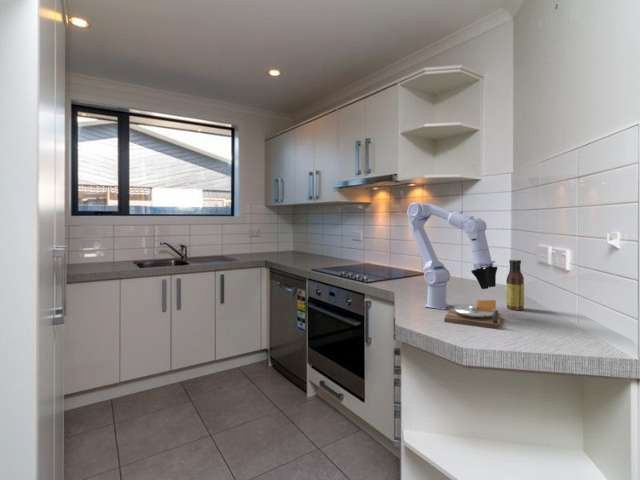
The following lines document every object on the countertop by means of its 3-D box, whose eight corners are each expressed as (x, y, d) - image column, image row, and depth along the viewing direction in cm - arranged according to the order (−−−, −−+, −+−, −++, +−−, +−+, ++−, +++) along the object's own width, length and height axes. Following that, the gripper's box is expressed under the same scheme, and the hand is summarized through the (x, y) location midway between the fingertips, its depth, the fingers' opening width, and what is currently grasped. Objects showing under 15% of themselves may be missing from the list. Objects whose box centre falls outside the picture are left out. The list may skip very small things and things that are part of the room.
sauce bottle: (517, 307, 144) (519, 258, 143) (527, 310, 138) (529, 260, 137) (502, 307, 144) (503, 258, 143) (511, 311, 137) (512, 260, 136)
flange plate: (456, 306, 134) (456, 295, 134) (495, 310, 127) (496, 299, 127) (451, 314, 122) (451, 302, 122) (494, 319, 116) (494, 306, 116)
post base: (451, 311, 136) (451, 297, 136) (500, 317, 128) (501, 302, 128) (444, 321, 122) (444, 306, 122) (499, 329, 114) (499, 312, 114)
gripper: (484, 248, 120) (493, 288, 118) (498, 248, 131) (506, 284, 129) (464, 252, 125) (472, 290, 123) (479, 252, 136) (486, 287, 134)
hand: (488, 287), depth 126 cm, fingers open, 7 cm apart
